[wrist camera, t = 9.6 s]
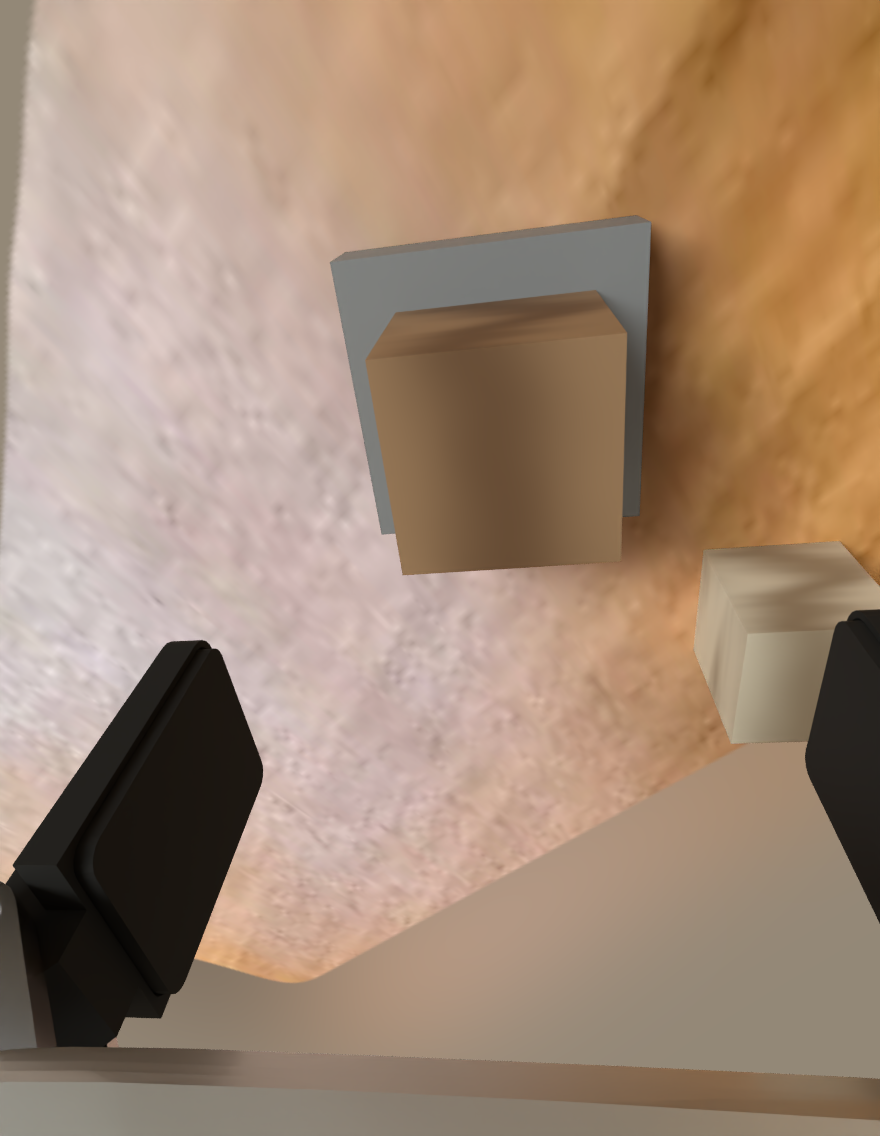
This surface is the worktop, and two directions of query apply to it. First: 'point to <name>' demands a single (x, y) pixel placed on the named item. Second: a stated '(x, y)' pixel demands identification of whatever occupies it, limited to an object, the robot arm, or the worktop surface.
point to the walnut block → (503, 432)
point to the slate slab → (494, 273)
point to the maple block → (774, 632)
